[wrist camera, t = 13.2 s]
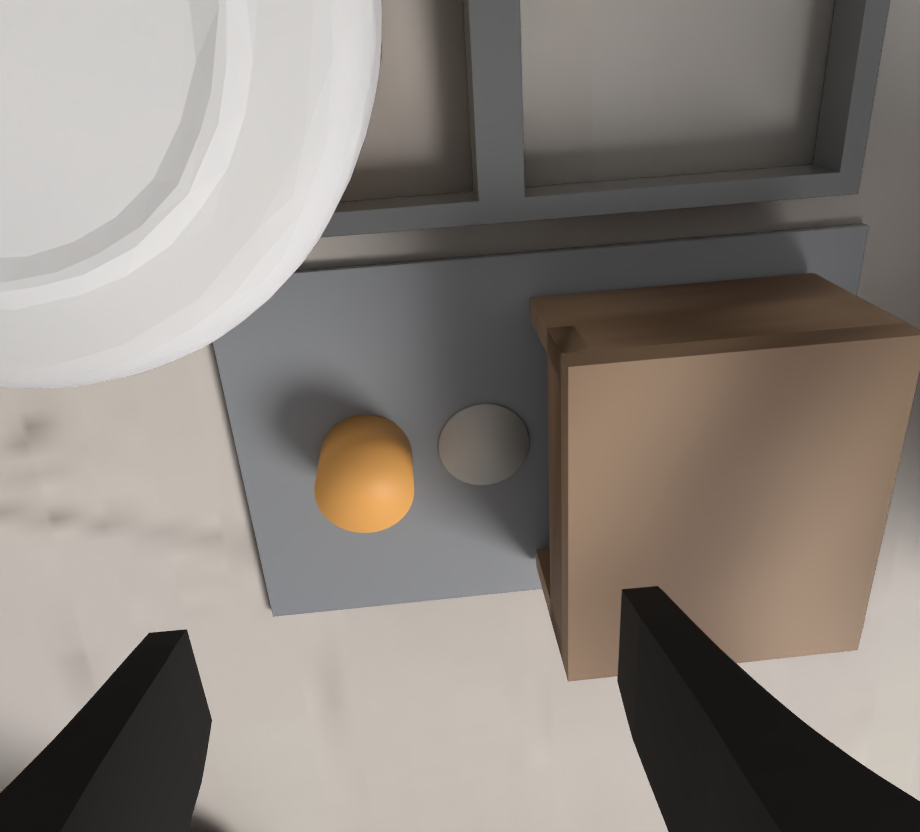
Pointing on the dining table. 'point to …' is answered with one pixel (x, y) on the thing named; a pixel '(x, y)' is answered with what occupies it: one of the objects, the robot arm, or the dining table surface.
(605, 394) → the cardboard box
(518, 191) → the socket frames
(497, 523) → the board
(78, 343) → the spice jar
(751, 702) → the robot arm
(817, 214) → the dining table surface
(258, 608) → the dining table surface
